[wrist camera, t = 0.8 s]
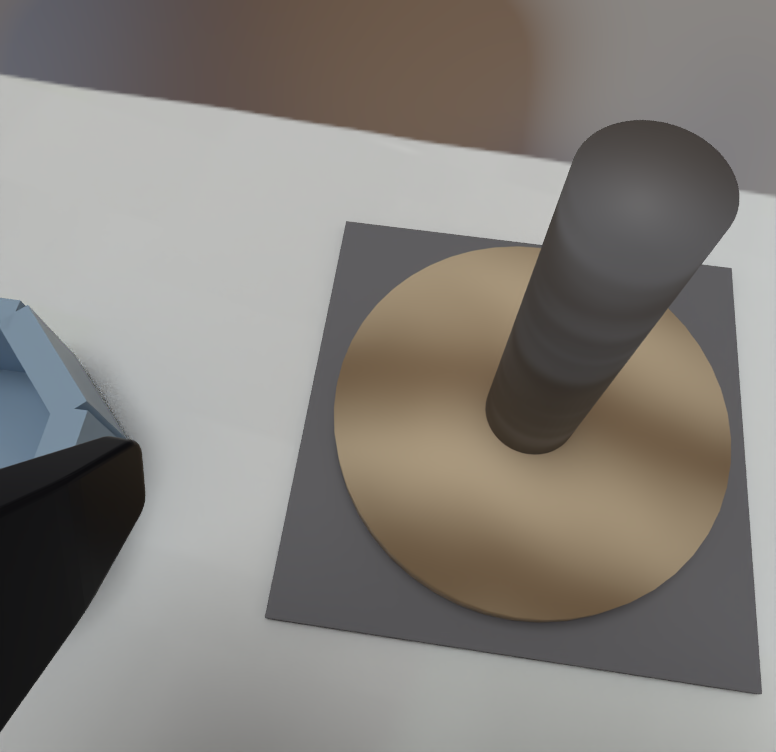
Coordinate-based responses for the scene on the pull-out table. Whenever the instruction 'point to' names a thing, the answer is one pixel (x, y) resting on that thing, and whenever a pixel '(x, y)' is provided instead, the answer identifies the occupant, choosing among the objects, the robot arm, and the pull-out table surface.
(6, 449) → the bowl
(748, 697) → the pull-out table surface
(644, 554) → the paper towel holder
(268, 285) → the pull-out table surface
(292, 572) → the mat
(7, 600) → the robot arm
